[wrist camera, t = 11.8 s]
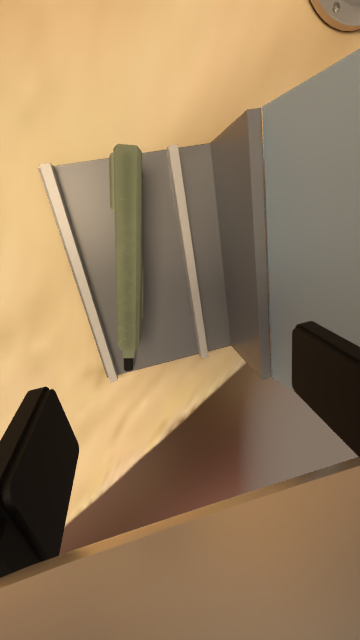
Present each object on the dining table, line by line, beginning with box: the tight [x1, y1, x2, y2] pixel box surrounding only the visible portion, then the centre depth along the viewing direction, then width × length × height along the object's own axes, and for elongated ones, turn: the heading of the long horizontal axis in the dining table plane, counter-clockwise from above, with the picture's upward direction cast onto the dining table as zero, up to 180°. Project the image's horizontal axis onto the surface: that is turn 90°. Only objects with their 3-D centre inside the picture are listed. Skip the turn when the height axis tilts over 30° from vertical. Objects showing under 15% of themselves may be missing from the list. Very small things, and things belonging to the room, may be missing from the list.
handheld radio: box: [109, 144, 144, 371], centre depth 29 cm, size 7×3×25 cm
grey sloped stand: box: [39, 108, 271, 383], centre depth 29 cm, size 20×26×10 cm
